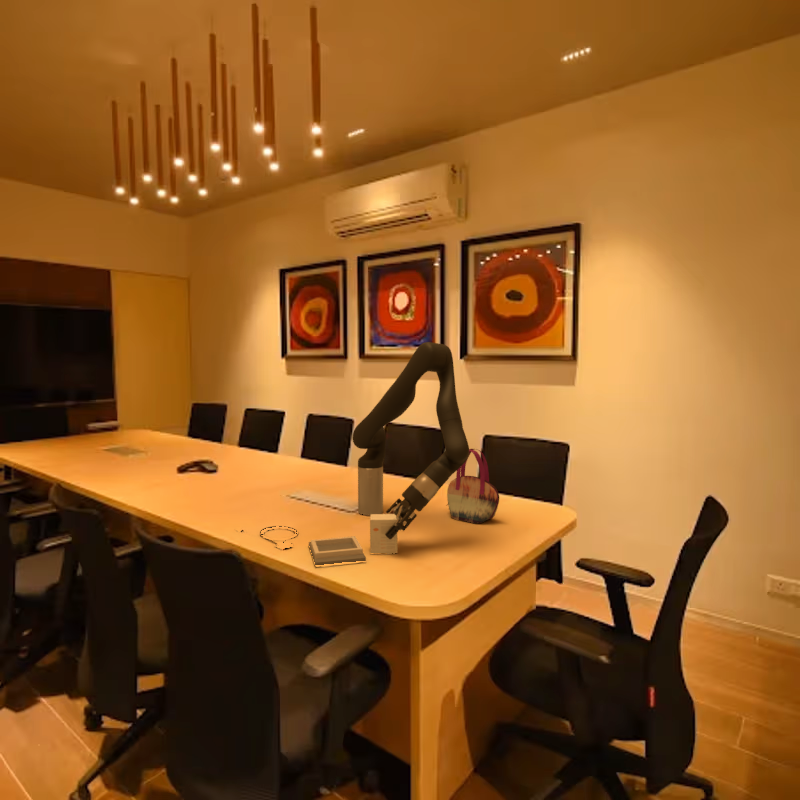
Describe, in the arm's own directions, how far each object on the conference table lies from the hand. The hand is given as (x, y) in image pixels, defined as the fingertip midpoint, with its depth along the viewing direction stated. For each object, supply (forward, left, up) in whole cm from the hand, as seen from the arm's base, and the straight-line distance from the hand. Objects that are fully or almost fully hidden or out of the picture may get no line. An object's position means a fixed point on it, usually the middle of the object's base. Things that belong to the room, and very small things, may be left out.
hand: (383, 532), depth 158 cm
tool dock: (-1, -14, -6) cm, 15 cm away
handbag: (-23, +38, -6) cm, 45 cm away
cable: (-24, -30, -6) cm, 39 cm away
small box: (0, 0, -6) cm, 6 cm away
